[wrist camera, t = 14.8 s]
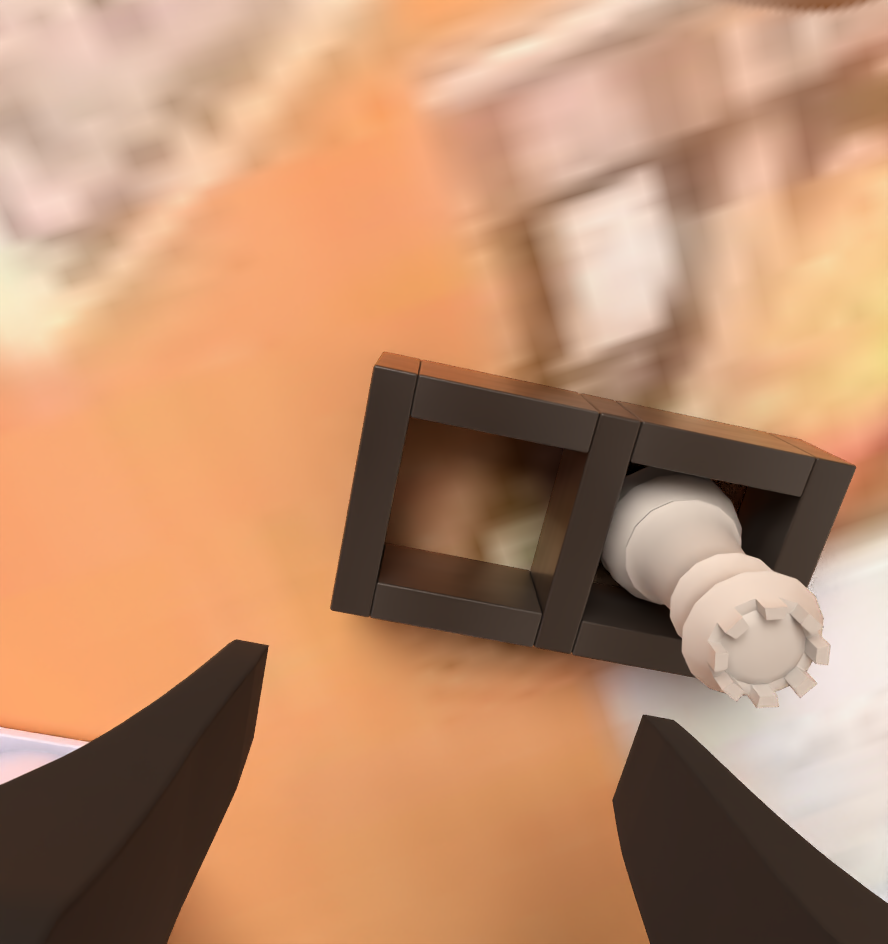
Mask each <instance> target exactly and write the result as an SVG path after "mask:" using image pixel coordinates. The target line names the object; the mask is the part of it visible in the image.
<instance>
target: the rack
mask: <svg viewBox="0 0 888 944" xmlns="http://www.w3.org/2000/svg"><path fill="white" fill-rule="evenodd" d="M410 415H411V417H412V418H417V419H422V420H427V421H432V422H437V423H442V424H447V425H451V426H456V427H461V428H466V429H471V430H476V431H481V432H486V433H490V434H495V435H500V436H505V437H510V438H515V439H520V440H525V441H529V442H534V443H539V444H544V445H549V446H554V447H559V448H564V450H563V454H562V457H561V461H560V465H559V468H558V472H557V476H556V479H555V483H554V487H553V490H552V494H551V498H550V501H549V505H548V509H547V512H546V516H545V520H544V523H543V527H542V531H541V534H540V538H539V542H538V546H537V549H536V553H535V557H534V560H533V564H532V568H531V571H529V570H524V569H519V568H514V567H508V566H503V565H498V564H493V563H488V562H482V561H477V560H472V559H467V558H461V557H456V556H451V555H446V554H441V553H435V552H430V551H425V550H420V549H415V548H409V547H404V546H399V545H394V544H389V543H385V539H386V534H387V529H388V524H389V519H390V514H391V509H392V504H393V499H394V494H395V489H396V484H397V479H398V474H399V469H400V464H401V459H402V454H403V449H404V444H405V439H406V434H407V429H408V424H409V419H410ZM630 461H631V462H632V463H636V464H641V465H646V466H651V467H656V468H661V469H666V470H670V471H675V472H680V473H685V474H690V475H695V476H700V477H705V478H709V479H714V480H719V481H724V482H729V483H734V484H739V485H744V486H748V487H747V490H746V493H745V495H744V498H743V501H742V504H741V506H740V509H739V512H738V515H737V517H738V519H739V522H740V525H741V527H742V534H741V548H742V550H743V551H744V553H745V554H746V555H748V556H751V557H755V558H758V559H760V560H761V561H762V562H764V563H765V564H766V565H767V566H768V567H769V568H770V569H771V570H772V571H773V572H776V573H780V574H783V575H786V576H789V577H792V578H795V579H797V580H798V581H800V582H801V583H802V584H803V585H804V586H805V587H806V588H807V587H808V585H809V582H810V580H811V577H812V575H813V572H814V570H815V567H816V565H817V563H818V560H819V558H820V555H821V553H822V550H823V548H824V545H825V543H826V541H827V538H828V536H829V533H830V531H831V528H832V526H833V523H834V521H835V518H836V516H837V514H838V511H839V509H840V506H841V504H842V501H843V499H844V496H845V494H846V492H847V489H848V487H849V484H850V482H851V479H852V477H853V474H854V472H855V469H856V466H855V465H853V464H851V463H849V462H847V461H845V460H843V459H841V458H839V457H836V456H834V455H832V454H830V453H828V452H826V451H824V450H822V449H820V448H818V447H815V446H813V445H811V444H809V443H807V442H805V441H803V440H801V439H796V438H791V437H786V436H782V435H777V434H772V433H766V432H763V431H758V430H753V429H749V428H744V427H739V426H734V425H730V424H725V423H720V422H715V421H711V420H706V419H701V418H696V417H692V416H687V415H682V414H678V413H673V412H668V411H663V410H659V409H654V408H649V407H644V406H640V405H635V404H630V403H625V402H621V401H616V402H615V401H614V400H610V399H606V398H601V397H596V396H592V395H587V394H578V393H577V392H573V391H568V390H564V389H559V388H554V387H549V386H545V385H540V384H535V383H531V382H526V381H521V380H516V379H512V378H507V377H502V376H497V375H493V374H488V373H483V372H478V371H474V370H469V369H464V368H459V367H455V366H450V365H445V364H441V363H436V362H431V361H426V360H422V361H421V360H420V359H417V358H412V357H407V356H403V355H398V354H393V353H388V352H383V354H382V355H381V357H380V358H379V360H378V361H377V363H376V364H375V366H374V367H373V373H372V378H371V384H370V389H369V395H368V400H367V406H366V412H365V417H364V423H363V428H362V434H361V439H360V445H359V450H358V456H357V462H356V467H355V473H354V478H353V484H352V489H351V495H350V500H349V506H348V512H347V517H346V523H345V528H344V534H343V539H342V545H341V550H340V556H339V562H338V567H337V573H336V578H335V584H334V589H333V595H332V600H331V606H330V609H331V610H332V611H337V612H343V613H348V614H354V615H359V616H364V617H369V616H371V618H375V619H381V620H386V621H392V622H397V623H403V624H408V625H413V626H419V627H424V628H430V629H435V630H441V631H446V632H451V633H457V634H462V635H468V636H473V637H479V638H484V639H489V640H495V641H500V642H506V643H511V644H517V645H522V646H527V647H533V645H534V647H536V648H540V649H546V650H551V651H556V652H562V653H567V654H571V652H572V654H573V655H575V656H581V657H586V658H592V659H597V660H603V661H608V662H613V663H619V664H624V665H630V666H635V667H641V668H646V669H651V670H657V671H662V672H668V673H673V674H679V675H684V676H690V677H695V676H694V675H693V674H692V673H691V672H690V669H689V667H688V665H687V663H686V660H685V658H684V656H683V654H682V638H681V637H680V636H679V635H678V634H677V632H676V630H675V627H674V625H673V623H672V621H671V618H670V609H669V608H668V607H667V606H666V605H664V604H662V605H660V604H656V603H653V602H650V601H647V600H644V599H640V598H637V597H635V596H634V595H632V594H630V593H629V592H628V591H627V590H626V589H624V588H618V587H613V586H608V585H603V584H598V583H593V581H594V577H595V574H596V571H597V567H598V564H599V561H600V558H601V554H602V551H603V548H604V544H605V541H606V538H607V535H608V531H609V528H610V525H611V521H612V518H613V515H614V512H615V508H616V505H617V502H618V498H619V495H620V492H621V488H622V485H623V482H624V479H625V475H626V472H627V469H628V465H629V462H630ZM384 544H385V545H384ZM695 678H696V677H695Z"/></svg>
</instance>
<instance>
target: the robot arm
mask: <svg viewBox="0 0 888 944" xmlns="http://www.w3.org/2000/svg"><path fill="white" fill-rule="evenodd" d="M268 646H269V645H263V644H258V643H253V642H247V641H242V640H234V641H232V642H231V643H229V644H228V645H226V646H225V647H224V648H223V649H222V650H221V651H219V652H218V653H217V654H216V655H215V656H213V657H212V658H211V659H210V660H209V661H207V662H206V663H205V664H204V665H202V666H201V667H200V668H199V669H197V670H196V671H195V672H194V673H192V674H191V675H190V676H188V677H187V678H186V679H184V680H183V681H182V682H180V683H179V684H178V685H176V686H175V687H174V688H172V689H171V690H170V691H168V692H167V693H166V694H164V695H163V696H162V697H160V698H159V699H157V700H156V701H154V702H153V703H152V704H150V705H149V706H147V707H145V708H144V709H142V710H141V711H139V712H138V713H136V714H135V715H133V716H132V717H130V718H129V719H127V720H126V721H124V722H123V723H121V724H120V725H118V726H116V727H115V728H113V729H112V730H110V731H108V732H107V733H105V734H103V735H102V736H100V737H98V738H96V739H95V740H93V741H91V742H87V741H81V740H75V739H69V738H63V737H57V736H51V735H45V734H39V733H33V732H27V731H21V730H15V729H9V728H3V727H0V944H167V941H168V939H169V936H170V934H171V931H172V929H173V926H174V924H175V922H176V919H177V917H178V915H179V912H180V910H181V907H182V905H183V903H184V901H185V899H186V897H187V895H188V892H189V890H190V888H191V886H192V884H193V882H194V880H195V877H196V875H197V873H198V871H199V869H200V867H201V865H202V862H203V860H204V858H205V856H206V854H207V852H208V850H209V847H210V845H211V843H212V841H213V839H214V837H215V835H216V832H217V830H218V828H219V826H220V824H221V822H222V819H223V817H224V815H225V813H226V811H227V809H228V806H229V804H230V802H231V800H232V798H233V796H234V793H235V791H236V789H237V786H238V783H239V780H240V777H241V774H242V771H243V768H244V765H245V762H246V759H247V756H248V753H249V750H250V747H251V744H252V741H253V738H254V732H255V726H256V720H257V714H258V707H259V701H260V695H261V689H262V683H263V677H264V671H265V665H266V658H267V652H268ZM612 801H613V807H614V813H615V819H616V825H617V831H618V836H619V841H620V846H621V851H622V855H623V859H624V862H625V866H626V869H627V872H628V875H629V879H630V882H631V885H632V888H633V891H634V895H635V898H636V901H637V904H638V907H639V910H640V913H641V916H642V920H643V923H644V926H645V929H646V932H647V935H648V938H649V941H650V944H888V903H887V902H885V901H884V900H882V899H881V898H880V897H878V896H877V895H875V894H874V893H873V892H871V891H870V890H869V889H867V888H866V887H865V886H863V885H862V884H861V883H859V882H858V881H857V880H855V879H854V878H853V877H851V876H850V875H849V874H848V873H846V872H845V871H844V870H842V869H841V868H840V867H838V866H837V865H836V864H834V863H833V862H832V861H831V860H829V859H828V858H827V857H826V856H824V855H823V854H822V853H821V852H819V851H818V850H817V849H816V848H815V847H813V846H812V845H811V844H810V843H809V842H807V841H806V840H805V839H804V838H803V837H802V836H801V835H799V834H798V833H797V832H796V831H795V830H794V829H792V828H791V827H790V826H789V825H788V824H787V823H785V822H784V821H783V820H782V819H781V818H780V817H779V816H777V815H776V814H775V813H774V812H773V811H772V810H771V809H770V808H769V807H767V806H766V805H765V804H764V803H763V802H762V801H761V800H760V799H759V798H758V797H757V796H755V795H754V794H753V793H752V792H751V791H750V790H749V789H748V788H747V787H746V786H745V785H744V784H743V783H742V782H740V781H739V780H738V779H737V778H736V777H735V776H734V775H733V774H732V773H731V772H730V771H729V770H728V769H727V768H726V767H725V766H724V765H723V764H722V763H720V762H719V761H718V760H717V759H716V758H715V757H714V756H713V755H712V754H711V753H710V752H709V751H708V750H707V749H706V748H705V747H704V746H703V745H701V744H700V743H699V742H698V741H697V740H696V739H695V738H694V737H693V736H692V735H691V734H690V733H688V732H687V731H686V730H685V729H684V728H683V727H681V726H680V725H679V724H678V723H677V722H675V721H674V720H670V719H665V718H659V717H654V716H649V715H643V716H642V719H641V722H640V724H639V727H638V730H637V733H636V736H635V738H634V741H633V744H632V747H631V750H630V752H629V755H628V758H627V761H626V764H625V766H624V769H623V772H622V775H621V778H620V780H619V783H618V786H617V789H616V792H615V794H614V797H613V800H612Z"/></svg>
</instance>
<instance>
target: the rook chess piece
mask: <svg viewBox="0 0 888 944" xmlns="http://www.w3.org/2000/svg"><path fill="white" fill-rule="evenodd" d="M741 534H742V527H741V525H740V522H739V519H738V517H737V514H736V512H735V509H734V506H733V504H732V501H731V499H729V498H728V497H727V496H726V495H725V494H724V493H723V492H722V490H721V489H720V488H719V487H718V486H717V485H716V484H715V483H714V482H713V481H712V480H711V479H709V478H705V477H700V476H695V475H690V474H685V473H680V472H675V471H670V470H666V469H661V468H656V467H651V466H648V467H646V468H644V469H642V470H639V471H637V472H635V473H633V474H631V475H628V476H626V477H625V479H624V482H623V485H622V488H621V492H620V495H619V498H618V502H617V505H616V508H615V512H614V515H613V518H612V521H611V525H610V528H609V531H608V535H607V538H606V541H605V544H604V548H603V551H602V554H601V558H600V559H601V562H602V564H603V566H604V568H605V569H606V570H607V571H609V572H610V574H611V576H612V578H613V579H614V580H615V581H616V582H618V583H619V584H620V585H621V586H622V587H623V588H625V589H626V590H627V591H628V592H629V593H630V594H632V595H634V596H635V597H637V598H640V599H644V600H647V601H650V602H653V603H656V604H660V605H662V604H664V605H666V606H667V607H668V608H669V609H670V618H671V621H672V623H673V625H674V627H675V630H676V632H677V634H678V635H679V636H680V637H681V638H682V654H683V656H684V658H685V660H686V663H687V665H688V667H689V669H690V672H691V673H692V674H693V675H694V676H695V677H696V678H698V679H699V680H700V681H701V682H702V683H704V684H705V685H706V686H707V687H708V688H710V689H713V690H716V691H719V692H723V693H726V694H728V695H729V696H730V697H731V698H733V699H734V700H735V701H736V702H737V701H738V700H739V699H740V697H741V696H744V695H748V697H749V698H750V699H751V701H752V702H753V704H754V705H755V706H756V708H765V707H779V704H778V697H777V695H776V693H775V692H776V691H778V690H781V689H783V688H786V687H788V686H790V687H791V688H792V689H793V690H794V691H795V693H796V694H797V695H798V696H799V697H800V698H801V697H802V696H803V695H805V694H806V693H807V692H808V691H809V690H811V689H812V688H813V687H814V686H815V685H817V683H816V681H815V680H814V679H813V678H812V677H811V676H810V675H809V674H808V673H807V670H808V668H809V667H810V665H811V663H812V661H813V662H814V663H815V664H823V665H828V663H829V655H830V646H831V645H830V644H829V643H828V642H827V641H826V640H825V639H824V638H823V637H822V628H823V619H824V618H823V616H822V613H821V610H820V607H819V605H818V602H817V599H816V596H815V595H814V594H813V593H812V592H810V591H809V590H808V589H807V588H806V587H805V586H804V585H803V584H802V583H801V582H800V581H798V580H797V579H795V578H792V577H789V576H786V575H783V574H780V573H776V572H773V571H772V570H771V569H770V568H769V567H768V566H767V565H766V564H765V563H764V562H762V561H761V560H760V559H758V558H755V557H751V556H748V555H746V554H745V553H744V551H743V550H742V548H741Z"/></svg>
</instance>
